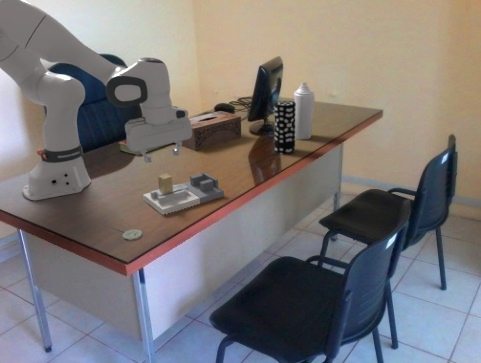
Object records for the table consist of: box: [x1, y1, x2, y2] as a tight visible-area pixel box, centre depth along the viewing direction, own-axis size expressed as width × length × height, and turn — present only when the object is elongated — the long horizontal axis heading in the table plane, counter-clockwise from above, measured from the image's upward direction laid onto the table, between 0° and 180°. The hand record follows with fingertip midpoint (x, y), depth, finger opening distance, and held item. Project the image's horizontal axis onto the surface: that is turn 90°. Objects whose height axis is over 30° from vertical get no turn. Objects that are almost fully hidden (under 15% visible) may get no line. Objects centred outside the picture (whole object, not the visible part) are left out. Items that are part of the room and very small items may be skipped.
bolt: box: [155, 173, 189, 199], centre depth 147 cm, size 10×4×7 cm, turn 126°
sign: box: [102, 223, 143, 240], centre depth 132 cm, size 5×1×15 cm
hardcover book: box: [118, 139, 168, 156], centre depth 202 cm, size 12×21×4 cm, turn 142°
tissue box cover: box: [181, 110, 242, 152], centre depth 206 cm, size 26×14×10 cm, turn 131°
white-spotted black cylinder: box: [274, 100, 296, 156], centre depth 187 cm, size 8×8×20 cm
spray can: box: [293, 81, 316, 140], centre depth 203 cm, size 12×11×25 cm
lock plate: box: [142, 172, 225, 216], centre depth 151 cm, size 22×14×5 cm, turn 126°
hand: (162, 158), depth 142 cm, fingers open, 8 cm apart
